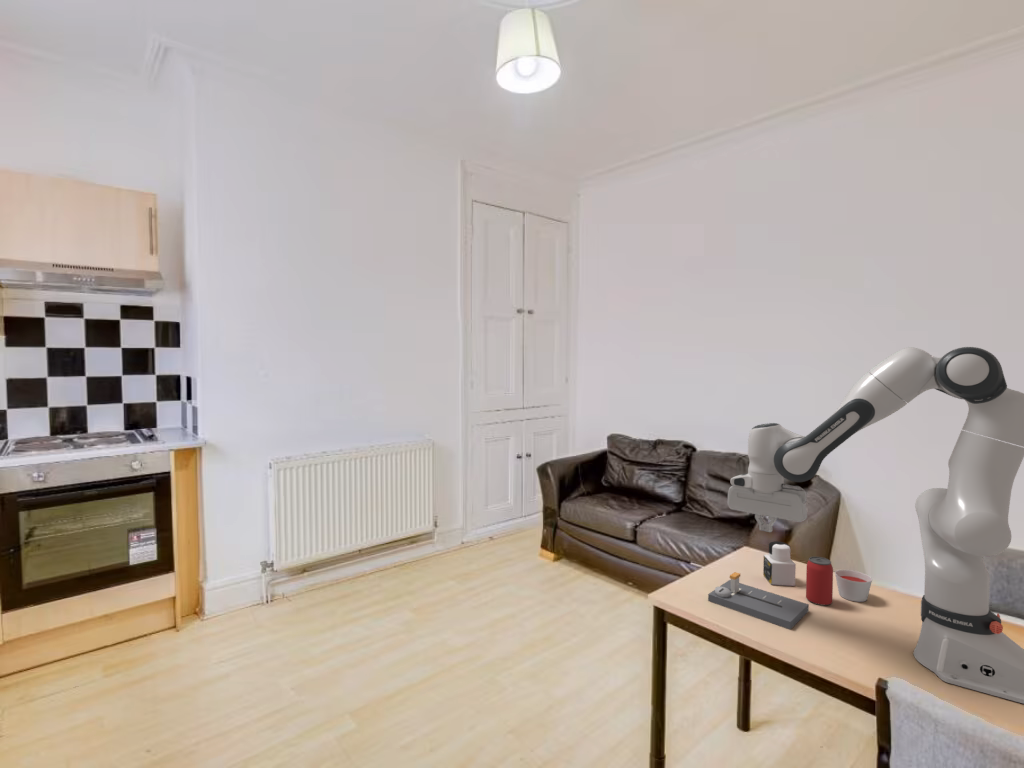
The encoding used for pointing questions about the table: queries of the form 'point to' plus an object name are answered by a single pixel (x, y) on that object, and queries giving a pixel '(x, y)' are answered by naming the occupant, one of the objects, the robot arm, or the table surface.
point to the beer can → (819, 581)
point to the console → (760, 604)
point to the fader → (734, 582)
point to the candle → (853, 585)
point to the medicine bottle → (779, 565)
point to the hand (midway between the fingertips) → (765, 530)
